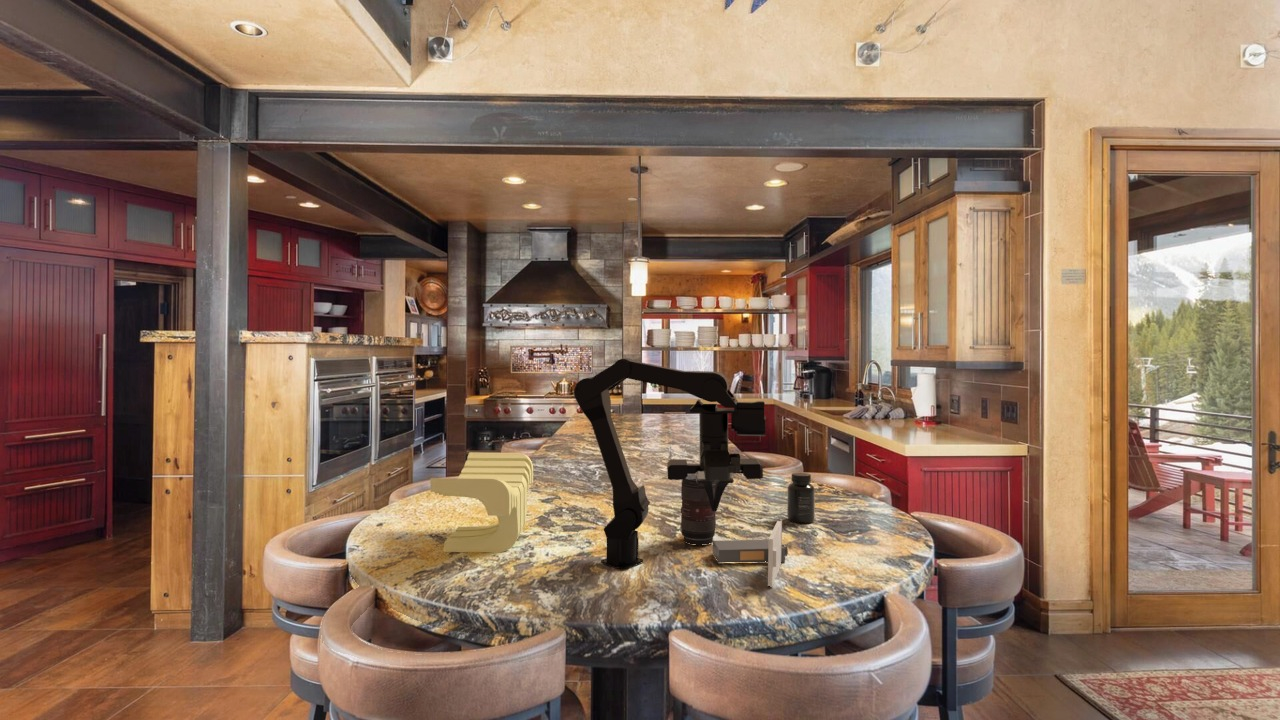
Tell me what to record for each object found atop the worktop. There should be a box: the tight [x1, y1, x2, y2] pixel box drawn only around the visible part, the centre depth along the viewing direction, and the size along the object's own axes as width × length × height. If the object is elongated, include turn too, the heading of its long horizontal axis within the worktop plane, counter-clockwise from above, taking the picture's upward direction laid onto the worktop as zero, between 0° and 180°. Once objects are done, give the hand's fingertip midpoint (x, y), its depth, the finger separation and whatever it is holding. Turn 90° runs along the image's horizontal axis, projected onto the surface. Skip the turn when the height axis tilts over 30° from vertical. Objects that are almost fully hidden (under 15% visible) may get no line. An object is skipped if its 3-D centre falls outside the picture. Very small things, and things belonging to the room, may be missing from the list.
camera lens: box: [680, 474, 717, 545], centre depth 144 cm, size 8×8×15 cm
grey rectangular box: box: [712, 539, 789, 563], centre depth 133 cm, size 15×6×3 cm, turn 95°
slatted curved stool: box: [429, 451, 534, 553], centre depth 142 cm, size 30×16×18 cm, turn 1°
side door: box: [767, 518, 783, 588], centre depth 124 cm, size 14×1×9 cm, turn 160°
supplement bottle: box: [787, 472, 816, 524], centre depth 162 cm, size 7×7×12 cm
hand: (714, 511), depth 127 cm, fingers closed
